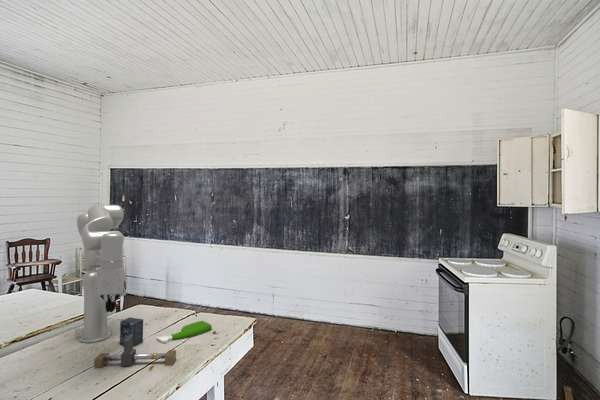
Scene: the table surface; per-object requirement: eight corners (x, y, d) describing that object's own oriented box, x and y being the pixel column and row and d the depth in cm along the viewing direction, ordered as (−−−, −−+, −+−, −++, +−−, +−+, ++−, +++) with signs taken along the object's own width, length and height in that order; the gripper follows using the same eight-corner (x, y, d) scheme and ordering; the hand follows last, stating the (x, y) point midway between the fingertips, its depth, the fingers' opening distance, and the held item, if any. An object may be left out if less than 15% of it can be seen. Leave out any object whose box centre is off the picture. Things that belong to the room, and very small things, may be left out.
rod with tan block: (89, 373, 120) (89, 363, 120) (104, 357, 132) (104, 348, 132) (170, 369, 124) (170, 359, 124) (178, 354, 136) (178, 345, 136)
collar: (119, 366, 124) (120, 341, 124) (126, 359, 130) (126, 334, 130) (130, 366, 125) (131, 340, 125) (136, 358, 131) (137, 334, 131)
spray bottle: (213, 330, 162) (165, 347, 144) (201, 325, 169) (154, 340, 151) (213, 325, 162) (165, 341, 144) (201, 319, 169) (154, 334, 151)
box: (119, 344, 144) (119, 321, 144) (129, 339, 149) (130, 316, 149) (133, 347, 142) (133, 323, 142) (143, 342, 147) (143, 319, 147)
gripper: (85, 266, 122) (84, 315, 122) (128, 266, 124) (127, 314, 124) (95, 262, 130) (95, 308, 129) (135, 262, 131) (134, 307, 131)
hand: (110, 310), depth 127 cm, fingers closed
